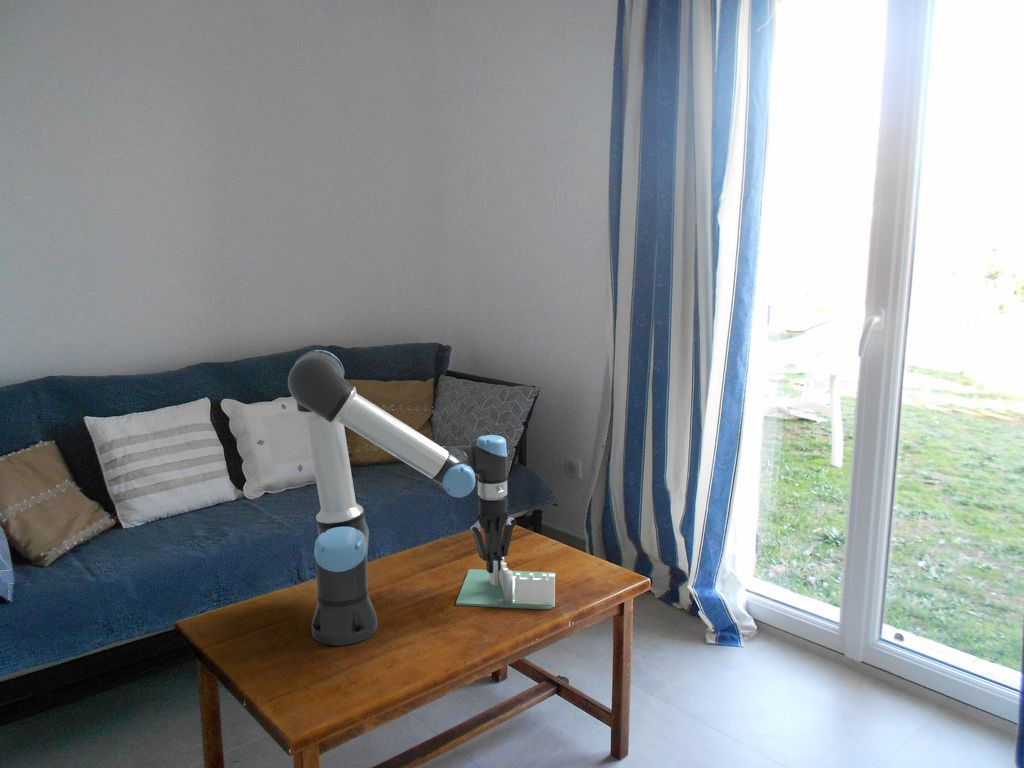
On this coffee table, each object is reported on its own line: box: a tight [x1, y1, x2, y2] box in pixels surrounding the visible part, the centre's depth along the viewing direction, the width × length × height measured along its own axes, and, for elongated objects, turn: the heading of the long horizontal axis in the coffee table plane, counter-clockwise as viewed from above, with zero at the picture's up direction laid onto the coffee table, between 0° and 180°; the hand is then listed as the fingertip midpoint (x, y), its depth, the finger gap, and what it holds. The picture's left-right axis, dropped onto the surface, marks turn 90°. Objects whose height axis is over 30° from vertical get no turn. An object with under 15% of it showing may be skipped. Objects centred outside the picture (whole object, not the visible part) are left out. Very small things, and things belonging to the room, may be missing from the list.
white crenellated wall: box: [498, 556, 510, 590], centre depth 195 cm, size 12×2×8 cm, turn 10°
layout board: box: [455, 568, 557, 610], centre depth 196 cm, size 24×20×1 cm
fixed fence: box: [503, 569, 556, 608], centre depth 187 cm, size 13×2×8 cm, turn 84°
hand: (493, 583), depth 195 cm, fingers closed
